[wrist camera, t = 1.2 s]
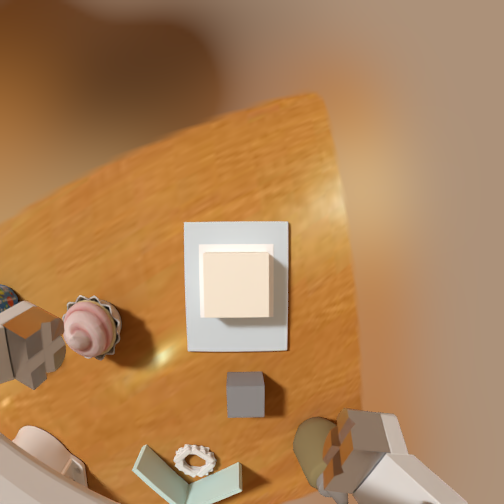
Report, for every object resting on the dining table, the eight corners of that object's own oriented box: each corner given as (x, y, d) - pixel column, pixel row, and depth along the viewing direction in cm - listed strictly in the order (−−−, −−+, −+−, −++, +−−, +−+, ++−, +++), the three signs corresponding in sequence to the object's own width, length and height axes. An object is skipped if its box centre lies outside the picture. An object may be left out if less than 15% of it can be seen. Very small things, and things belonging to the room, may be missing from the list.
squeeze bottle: (294, 454, 46) (315, 529, 28) (284, 418, 46) (305, 494, 28) (340, 440, 46) (376, 510, 28) (334, 404, 46) (374, 472, 28)
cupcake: (137, 299, 44) (111, 315, 34) (126, 357, 44) (101, 384, 34) (81, 281, 44) (47, 291, 34) (73, 337, 44) (41, 357, 34)
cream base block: (266, 310, 44) (268, 317, 40) (207, 310, 44) (204, 317, 40) (266, 251, 44) (268, 252, 40) (206, 251, 44) (202, 253, 40)
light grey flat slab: (286, 348, 45) (287, 350, 45) (188, 349, 45) (187, 351, 44) (287, 221, 44) (288, 221, 44) (184, 222, 44) (183, 222, 43)
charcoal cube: (261, 400, 46) (264, 416, 41) (228, 401, 45) (227, 417, 40) (261, 371, 45) (264, 385, 40) (227, 371, 45) (226, 386, 40)
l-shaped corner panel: (241, 462, 46) (242, 491, 39) (187, 486, 46) (182, 513, 39) (197, 417, 46) (191, 443, 38) (143, 444, 46) (132, 470, 38)
